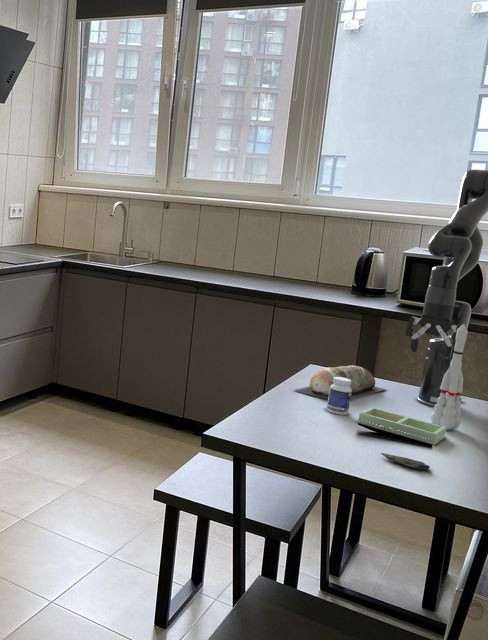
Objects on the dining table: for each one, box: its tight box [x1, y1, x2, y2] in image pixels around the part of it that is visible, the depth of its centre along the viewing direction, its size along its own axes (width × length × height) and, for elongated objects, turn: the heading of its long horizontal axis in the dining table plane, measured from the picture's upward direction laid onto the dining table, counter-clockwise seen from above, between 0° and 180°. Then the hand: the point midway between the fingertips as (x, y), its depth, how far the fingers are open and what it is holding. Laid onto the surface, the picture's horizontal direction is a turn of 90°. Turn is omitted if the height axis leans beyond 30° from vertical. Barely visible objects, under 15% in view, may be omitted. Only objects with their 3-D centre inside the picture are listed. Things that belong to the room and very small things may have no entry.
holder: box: [357, 406, 447, 446], centre depth 203 cm, size 10×19×3 cm, turn 45°
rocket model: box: [430, 324, 469, 431], centre depth 207 cm, size 7×7×30 cm
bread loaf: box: [296, 364, 386, 400], centre depth 239 cm, size 35×18×9 cm, turn 136°
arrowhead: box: [380, 452, 431, 471], centre depth 176 cm, size 7×10×1 cm
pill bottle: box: [326, 377, 352, 416], centre depth 214 cm, size 6×6×10 cm
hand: (429, 354), depth 222 cm, fingers open, 8 cm apart
